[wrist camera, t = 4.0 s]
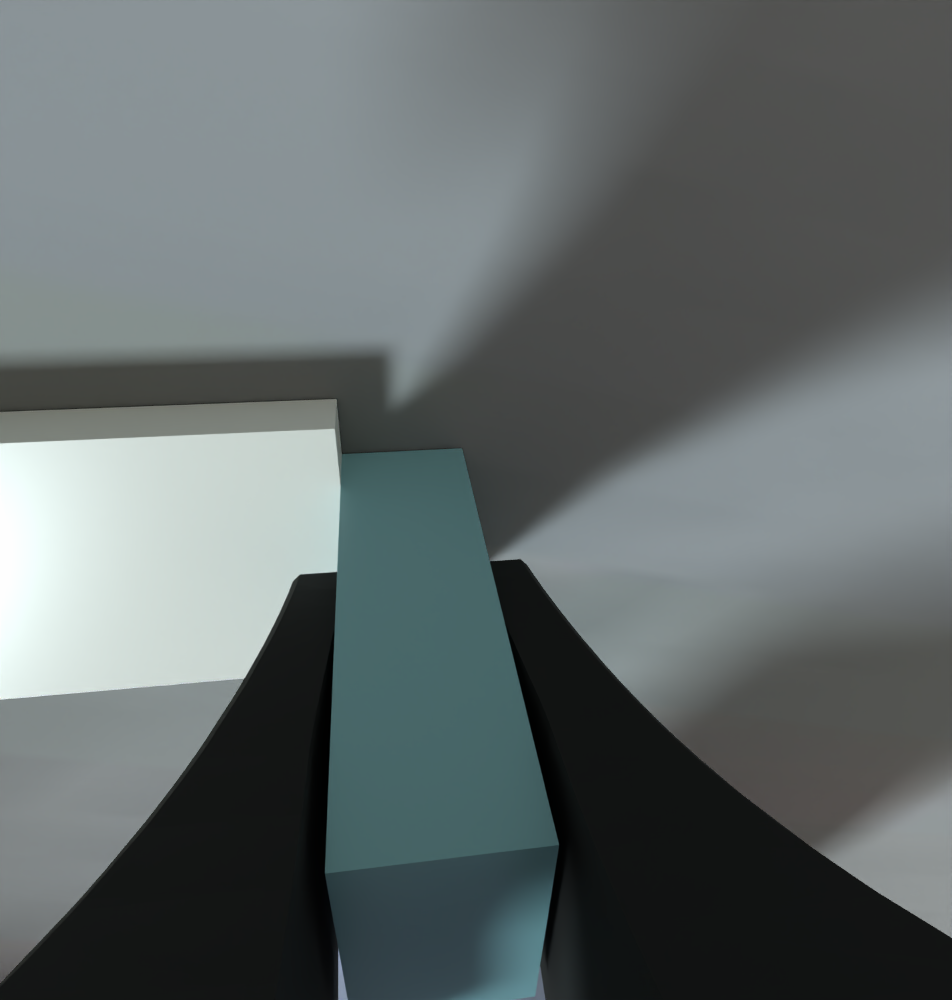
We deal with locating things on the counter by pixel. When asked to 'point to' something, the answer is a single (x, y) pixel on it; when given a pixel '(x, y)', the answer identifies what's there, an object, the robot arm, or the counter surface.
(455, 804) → the scraper
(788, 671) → the counter surface
